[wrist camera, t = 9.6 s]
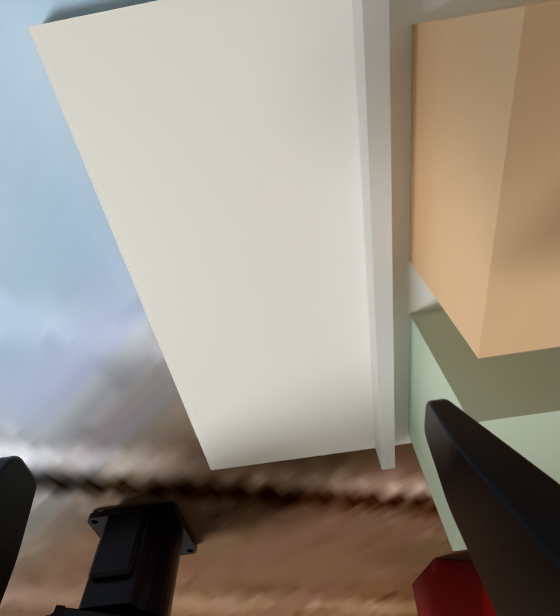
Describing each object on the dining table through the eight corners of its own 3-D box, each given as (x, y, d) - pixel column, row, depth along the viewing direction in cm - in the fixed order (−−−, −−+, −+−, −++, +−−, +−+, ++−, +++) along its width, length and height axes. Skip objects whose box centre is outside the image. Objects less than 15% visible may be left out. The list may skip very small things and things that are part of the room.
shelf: (519, 417, 26) (543, 451, 24) (212, 459, 27) (207, 496, 25) (637, -95, 13) (714, -124, 11) (38, 27, 14) (-3, 23, 12)
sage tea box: (409, 314, 20) (470, 423, 14) (513, 297, 20) (619, 402, 14) (407, 433, 25) (453, 551, 19) (491, 421, 25) (563, 537, 19)
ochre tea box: (411, 24, 14) (525, 6, 8) (565, -5, 13) (802, -49, 8) (409, 260, 19) (478, 358, 13) (522, 241, 18) (646, 333, 12)
